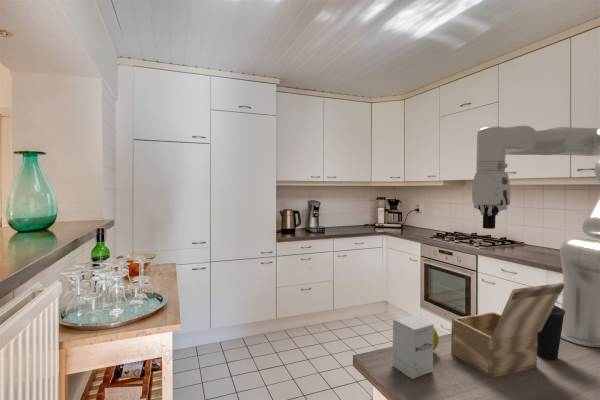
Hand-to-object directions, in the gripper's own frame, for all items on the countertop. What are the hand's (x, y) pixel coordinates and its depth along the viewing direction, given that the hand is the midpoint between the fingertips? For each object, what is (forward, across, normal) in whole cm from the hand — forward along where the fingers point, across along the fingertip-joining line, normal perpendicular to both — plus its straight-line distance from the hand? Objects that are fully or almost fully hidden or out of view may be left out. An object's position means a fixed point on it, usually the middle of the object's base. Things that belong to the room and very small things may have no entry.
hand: (488, 228), depth 99 cm
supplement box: (+35, -6, +32) cm, 48 cm away
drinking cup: (+35, -12, -8) cm, 38 cm away
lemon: (+35, 0, +22) cm, 42 cm away
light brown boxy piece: (+35, -9, +8) cm, 37 cm away
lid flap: (+18, -18, +8) cm, 27 cm away
